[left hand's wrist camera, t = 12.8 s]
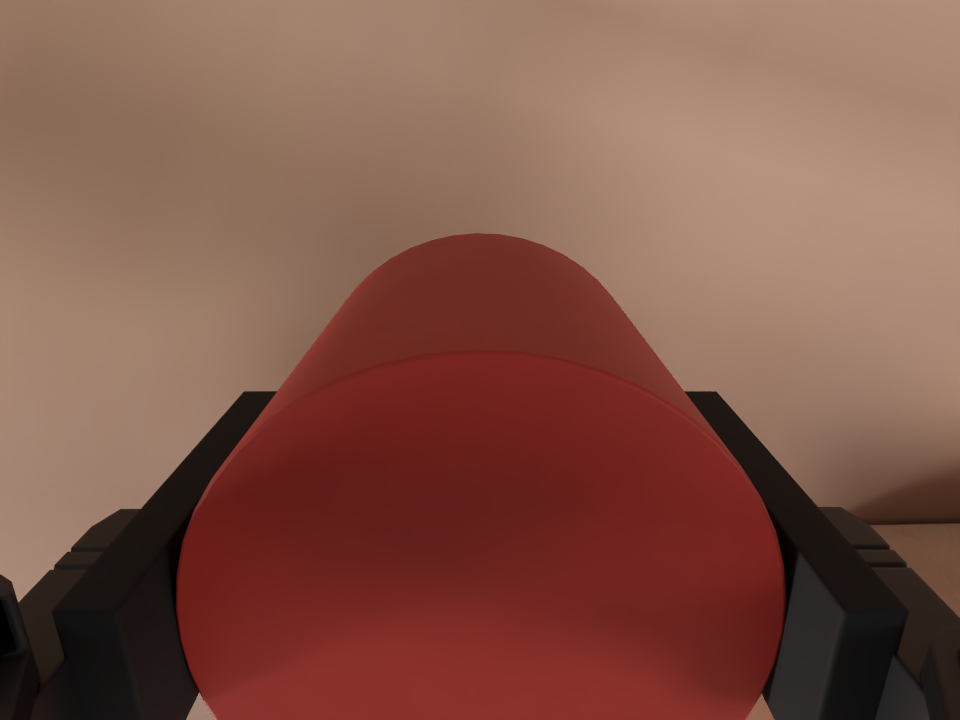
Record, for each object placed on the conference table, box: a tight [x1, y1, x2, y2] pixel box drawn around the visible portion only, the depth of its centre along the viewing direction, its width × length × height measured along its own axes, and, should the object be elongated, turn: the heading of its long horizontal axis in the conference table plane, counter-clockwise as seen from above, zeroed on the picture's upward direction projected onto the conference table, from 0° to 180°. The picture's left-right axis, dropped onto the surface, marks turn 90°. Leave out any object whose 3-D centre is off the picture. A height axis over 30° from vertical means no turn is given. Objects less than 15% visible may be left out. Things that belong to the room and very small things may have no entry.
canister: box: [176, 233, 786, 720], centre depth 13 cm, size 8×8×9 cm
